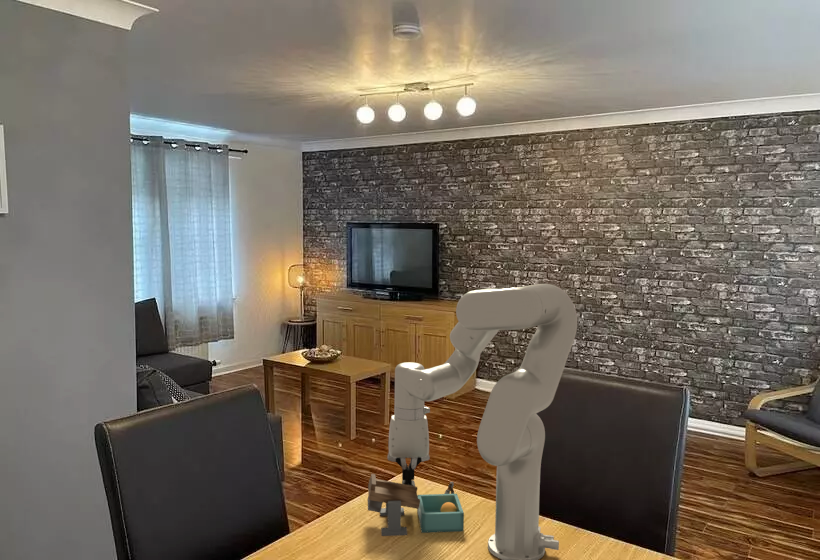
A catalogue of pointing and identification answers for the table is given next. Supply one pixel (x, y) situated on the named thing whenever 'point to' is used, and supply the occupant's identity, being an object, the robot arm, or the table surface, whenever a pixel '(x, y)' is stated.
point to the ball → (448, 507)
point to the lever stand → (393, 519)
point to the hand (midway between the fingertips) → (408, 482)
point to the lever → (391, 493)
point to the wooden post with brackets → (450, 488)
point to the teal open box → (439, 514)
